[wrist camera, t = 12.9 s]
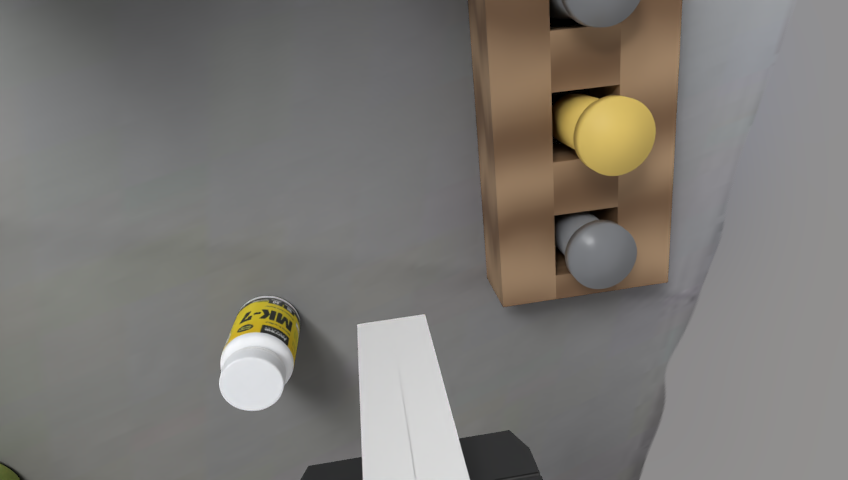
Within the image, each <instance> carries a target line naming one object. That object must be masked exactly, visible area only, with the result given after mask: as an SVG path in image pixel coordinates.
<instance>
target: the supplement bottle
mask: <svg viewBox="0 0 848 480" xmlns="http://www.w3.org/2000/svg"><path fill="white" fill-rule="evenodd" d="M299 333H300V318H299V315H298V313H297V311H296V309H295V308H294V307H293V306H292V305H291V304H290V303H289V302H287V301H286V300H284V299H282V298H279V297H274V296H261V297H257V298H254V299H252V300H250V301H248V302H247V303H246V304H245V305H244V306H243V307H242V308H241V309H240V311H239V313H238V315H237V317H236V320H235V322H234V325H233V327H232V330H231V332H230V335H229V337H228V340H227V342H226V345H225V347H224V350H223V352H222V355H221V361H220V366H221V375H220V379H219V387H220V391H221V394H222V395H223V397H224V398H225V400H226V401H227V402H228V403H230V404H231V405H232V406H234V407H236V408H239V409H242V410H246V411H258V410H262V409H265V408H268V407H270V406H271V405H273V404H274V403H275V402H276V401H277V400H278V399H279V398H280V396H281V395H282V392H283V389H284V385H285V384H286V383H287V382H288V380H289V379H290V377H291V375H292V372H293V369H294V363H295V357H296V351H297V345H298V339H299Z"/></svg>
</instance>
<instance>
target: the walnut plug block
mask: <svg viewBox="0 0 848 480" xmlns="http://www.w3.org/2000/svg"><path fill="white" fill-rule="evenodd" d="M468 8H469V23H470V37H471V51H472V66H473V80H474V95H475V109H476V123H477V138H478V152H479V166H480V181H481V195H482V210H483V224H484V238H485V253H486V267H487V279H488V280H489V282H490V284H491V286H492V288H493V289H494V291H495V293H496V295H497V297H498V298H499V300H500V302H501V304H502V306H503V307H507V306H514V305H520V304H527V303H534V302H540V301H547V300H554V299H560V298H567V297H573V296H580V295H587V294H593V293H600V292H606V291H613V290H620V289H626V288H633V287H640V286H646V285H653V284H659V283H666V282H668V269H669V249H670V230H671V210H672V191H673V172H674V152H675V133H676V113H677V94H678V74H679V55H680V35H681V16H682V0H640V2H639V4H638V5H637V7H636V8H635V10H634V11H633V12H632V13H631V14H630V15H629V16H628V17H627V18H626V19H625V20H623V21H622V22H620V23H618V24H616V25H613V26H610V27H587V26H584V25H581V24H577V25H568V26H559V27H550V14H549V0H468ZM587 88H589V96H592V97H595V98H599V99H600V98H602V97H605V96H610V95H621V96H625V97H629V98H633V99H635V100H638V101H640V102H641V103H643V104H644V105H645V106H646V107H647V108H648V109H649V111H650V112H651V114H652V116H653V118H654V122H655V127H656V135H655V141H654V144H653V147H652V149H651V152H650V153H649V155H648V157H647V158H646V159H645V160H644V162H643V163H642V164H641V165H639V166H638V167H637V168H636V169H634V170H632V171H631V172H628V173H626V174H623V175H619V176H606V175H602V174H600V173H597V172H596V171H594V170H592V169H590V168H589V167H587V166H586V165H585V164H584V163H583V162H582V161H581V160H580V159H579V157H578V156H577V154H576V151H575V150H574V149H573V148H571V147H569V146H567V145H565V144H563V143H561V144H553V140H552V98H551V93H554V92H562V91H571V90H579V89H587ZM584 211H589V212H590V213H592V214H593V215H594V216H595V217H597V218H598V219H599V220H609V221H613V222H615V223H617V224H619V225H620V226H621V227H623V228H624V229H625V230H627V231H628V232H629V233H630V234H631V235H632V237H633V238H634V240H635V243H636V247H637V257H636V261H635V264H634V266H633V268H632V270H631V272H630V273H629V274H628V275H627V277H626V278H624V279H623V280H622V281H621V282H619V283H618V284H616V285H614V286H612V287H609V288H605V289H592V288H588V287H586V286H584V285H582V284H581V283H579V282H578V281H577V280H576V279H575V277H574V276H573V275H572V274H571V273H570V272H569V270H568V268H567V266H566V262H565V255H564V254H563V253H562V252H561V251H560V250H559V249H558V248H557V247H555V225H554V216H555V215H562V214H569V213H577V212H584Z"/></svg>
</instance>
